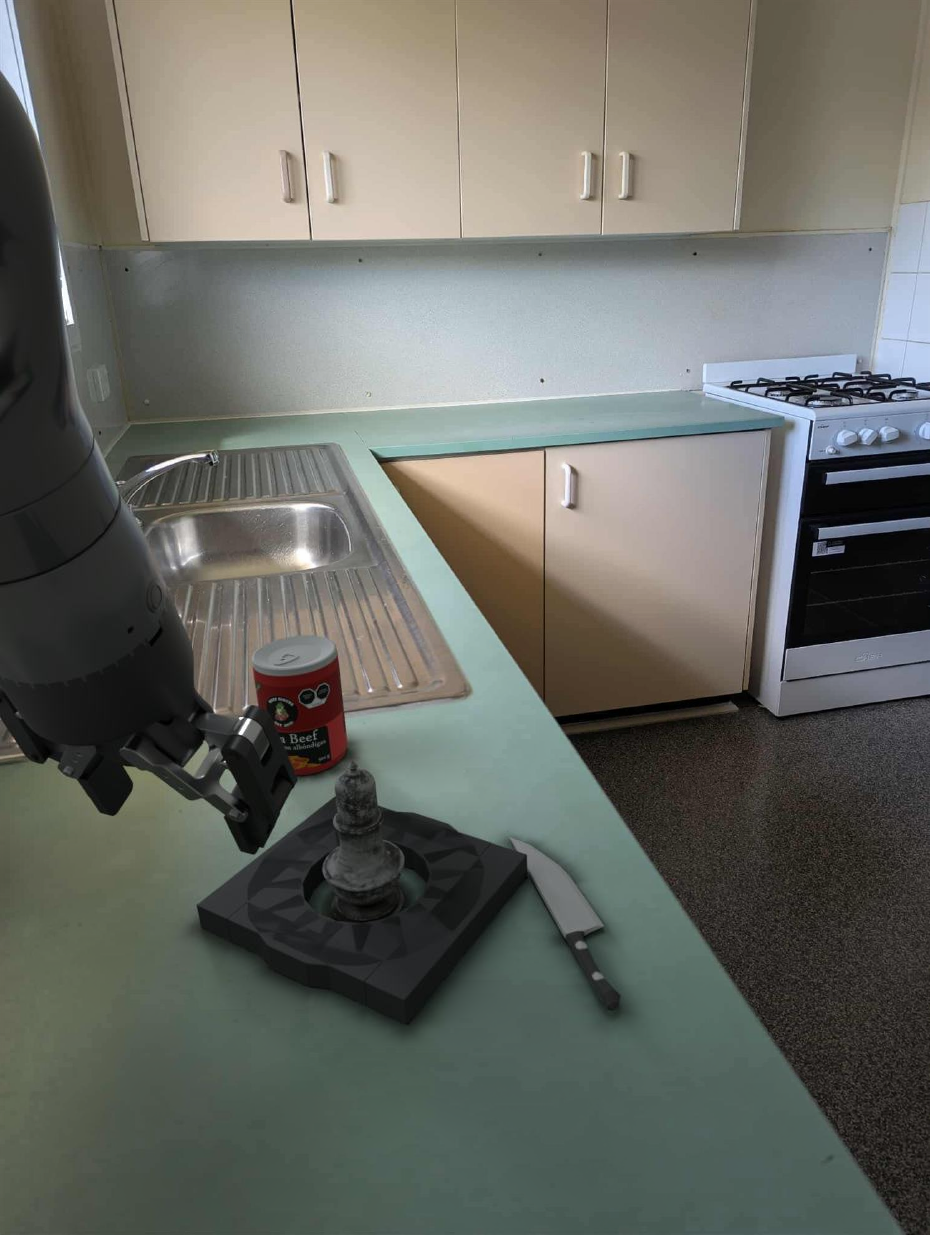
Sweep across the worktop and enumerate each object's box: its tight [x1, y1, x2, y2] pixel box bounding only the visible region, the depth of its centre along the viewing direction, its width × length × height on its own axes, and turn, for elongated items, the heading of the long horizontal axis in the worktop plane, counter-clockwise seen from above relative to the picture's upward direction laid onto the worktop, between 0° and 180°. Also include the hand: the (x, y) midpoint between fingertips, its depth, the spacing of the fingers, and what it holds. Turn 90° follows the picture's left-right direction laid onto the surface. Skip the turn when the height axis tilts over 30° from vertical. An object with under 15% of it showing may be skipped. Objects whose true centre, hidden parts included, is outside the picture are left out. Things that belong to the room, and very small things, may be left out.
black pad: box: [196, 795, 529, 1025], centre depth 64 cm, size 18×17×2 cm
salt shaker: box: [322, 760, 405, 923], centre depth 62 cm, size 6×6×12 cm
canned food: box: [251, 634, 348, 776], centre depth 82 cm, size 8×8×11 cm
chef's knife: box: [509, 836, 622, 1012], centre depth 62 cm, size 19×1×3 cm
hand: (187, 819), depth 47 cm, fingers open, 8 cm apart
